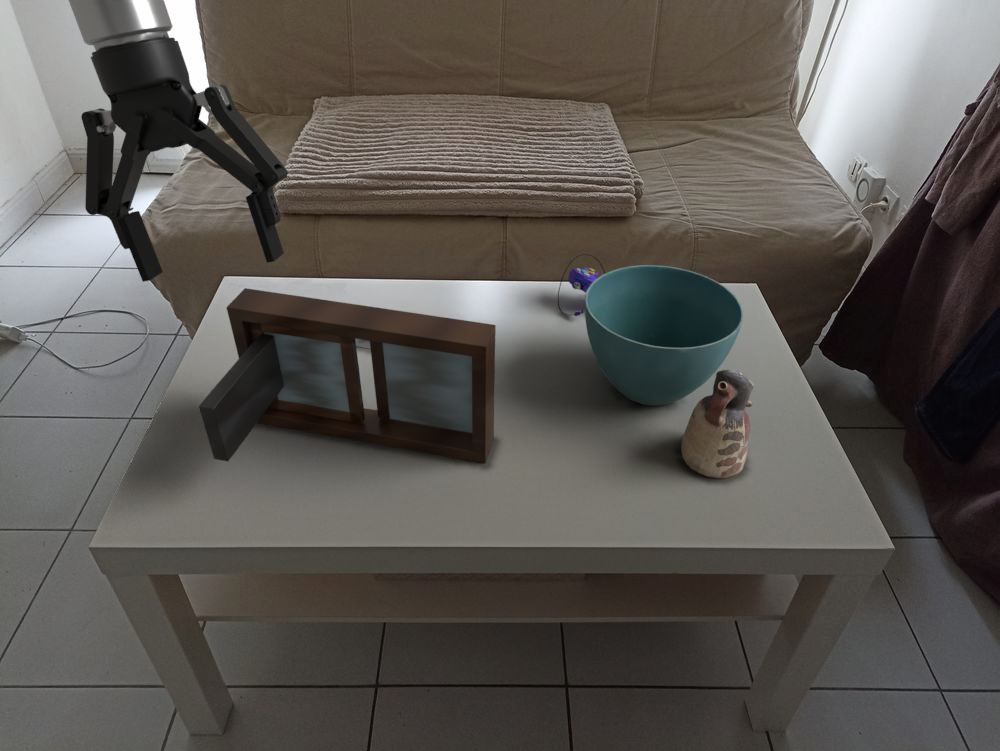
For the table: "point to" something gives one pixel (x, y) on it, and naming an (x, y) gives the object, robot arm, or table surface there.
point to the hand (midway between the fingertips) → (213, 267)
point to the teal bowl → (660, 330)
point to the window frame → (393, 372)
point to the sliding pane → (283, 384)
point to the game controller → (581, 280)
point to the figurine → (720, 428)
